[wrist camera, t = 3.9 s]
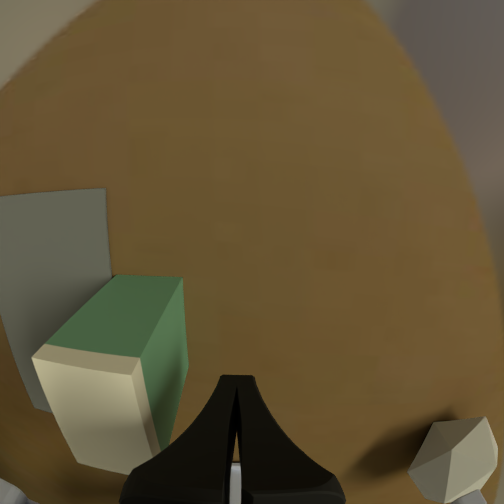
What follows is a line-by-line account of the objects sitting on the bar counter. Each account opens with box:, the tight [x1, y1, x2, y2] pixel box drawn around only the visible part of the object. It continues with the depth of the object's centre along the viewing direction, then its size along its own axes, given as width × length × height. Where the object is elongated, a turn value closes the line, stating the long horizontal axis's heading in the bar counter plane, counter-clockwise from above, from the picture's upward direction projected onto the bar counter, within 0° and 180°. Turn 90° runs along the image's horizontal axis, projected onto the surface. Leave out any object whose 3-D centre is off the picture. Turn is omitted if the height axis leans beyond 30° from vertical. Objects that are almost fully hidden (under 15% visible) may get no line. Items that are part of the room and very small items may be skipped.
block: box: [31, 275, 189, 475], centre depth 14 cm, size 6×4×9 cm, turn 179°
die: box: [407, 416, 498, 503], centre depth 18 cm, size 8×9×10 cm
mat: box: [0, 188, 112, 413], centre depth 18 cm, size 18×11×1 cm, turn 179°
